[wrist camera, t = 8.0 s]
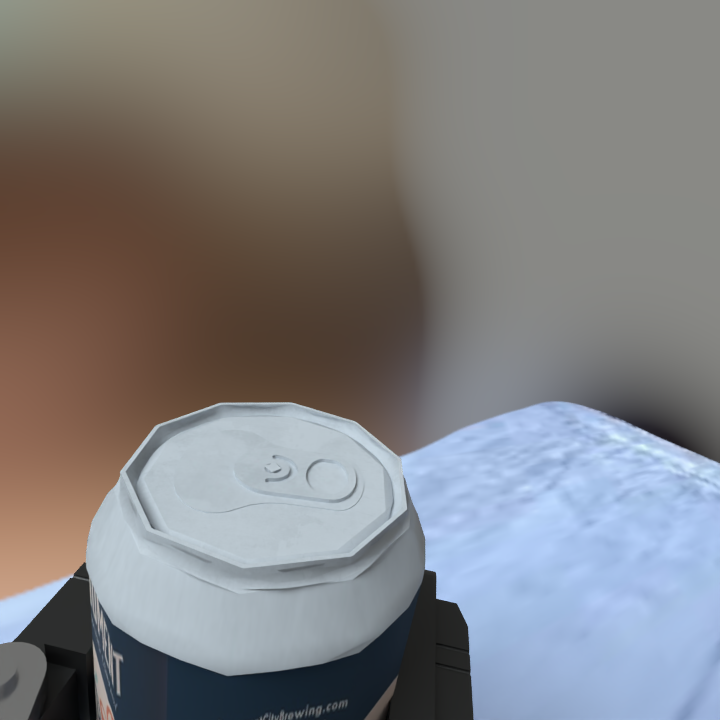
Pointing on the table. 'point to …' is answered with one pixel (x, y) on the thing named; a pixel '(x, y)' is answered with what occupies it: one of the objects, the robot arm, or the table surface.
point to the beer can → (254, 570)
